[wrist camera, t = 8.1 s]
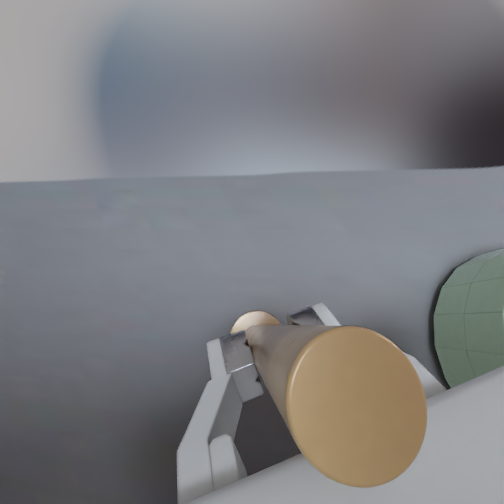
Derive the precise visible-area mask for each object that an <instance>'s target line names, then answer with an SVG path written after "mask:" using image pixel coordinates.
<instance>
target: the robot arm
mask: <svg viewBox="0 0 504 504" xmlns="http://www.w3.org/2000/svg"><path fill="white" fill-rule="evenodd" d="M287 322H288V324H289V325H327V326H342V325H341V324H340V323H339V322H338V321H337V319H336V318H335V317H334V316H333V314H332V313H331V312H330V311H329V309H328V308H327V307H326V306H325V305H324V304H323V303H319V304H316V305H313V306H310V307H307V308H304V309H302V310H299V311H296V312H293V313H290V314H288V315H287ZM206 347H207V354H208V360H209V366H210V373H211V379H212V380H210V381H208V382H207V384H206V387H205V389H204V391H203V393H202V396H201V398H200V400H199V403H198V405H197V407H196V409H195V412H194V414H193V416H192V418H191V421H190V423H189V425H188V427H187V430H186V432H185V434H184V437H183V439H182V441H181V443H180V446H179V448H178V450H177V496H178V504H504V366H501V367H499V368H497V369H494V370H492V371H490V372H488V373H485V374H483V375H481V376H478V377H476V378H474V379H471V380H469V381H467V382H464V383H462V384H460V385H458V386H455V387H453V388H451V389H448V390H447V389H446V388H445V387H444V386H443V385H442V384H441V383H440V382H439V381H438V380H437V379H436V378H435V377H434V376H433V375H432V374H431V373H430V372H429V371H428V370H427V369H426V368H425V367H424V366H423V365H422V364H421V363H420V362H419V361H418V360H417V359H416V358H415V357H413V356H411V355H409V354H406V353H404V352H403V353H404V354H405V355H406V356H407V358H408V359H409V360H410V362H411V363H412V365H413V366H414V368H415V370H416V372H417V374H418V376H419V378H420V380H421V383H422V386H423V389H424V393H425V397H426V405H427V426H426V432H425V437H424V440H423V443H422V446H421V449H420V451H419V452H418V454H417V456H416V458H415V459H414V461H413V462H412V464H411V465H410V466H409V467H408V468H407V469H406V470H405V472H404V473H402V474H401V475H400V476H398V477H397V478H396V479H394V480H392V481H390V482H388V483H386V484H383V485H380V486H376V487H370V488H358V487H351V486H346V485H343V484H340V483H337V482H335V481H333V480H331V479H329V478H327V477H326V476H324V475H323V474H322V473H320V472H319V471H318V470H317V469H315V468H314V467H313V466H312V465H311V464H310V463H309V462H308V460H307V459H306V458H305V457H304V456H303V454H302V453H300V454H298V455H296V456H293V457H291V458H289V459H287V460H284V461H282V462H280V463H277V464H275V465H273V466H270V467H268V468H266V469H263V470H261V471H259V472H257V473H254V474H252V475H250V476H248V475H247V471H246V468H245V466H244V464H243V462H242V460H241V457H240V455H239V453H238V451H237V448H236V446H235V444H234V438H235V434H236V430H237V426H238V421H239V417H240V413H241V409H242V405H243V404H242V403H243V402H245V401H248V400H250V399H253V398H255V397H257V396H260V395H262V394H264V393H263V389H262V385H261V382H260V379H259V374H258V371H257V368H256V366H255V363H254V359H253V355H252V352H251V349H250V347H249V344H248V340H247V337H246V334H245V331H244V330H242V331H239V332H236V333H233V334H230V335H227V336H223V337H220V338H218V339H215V340H212V341H209V342H207V343H206Z"/></svg>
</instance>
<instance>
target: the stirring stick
mask: <svg viewBox="0 0 504 504" xmlns="http://www.w3.org/2000/svg"><path fill="white" fill-rule="evenodd" d="M242 330H244V331H245V334H246V337H247V340H248V344H249V347H250V349H251V352H252V355H253V359H254V363H255V366H256V368H257V370H258V372H259V374H260V375H261V377H262V379H263V381H264V383H265V385H266V387H267V389H268V391H269V393H270V395H271V397H272V399H273V400H274V402H275V404H276V406H277V408H278V410H279V412H280V414H281V416H282V418H283V420H284V422H285V424H286V425H287V427H288V429H289V431H290V433H291V435H292V437H293V439H294V441H295V443H296V445H297V447H298V448H299V450H300V451H301V453H302V454H303V456H304V457H305V458H306V459H307V460H308V462H309V463H310V464H311V465H312V466H313V467H314V468H315V469H317V470H318V471H319V472H320V473H322V474H323V475H324V476H326V477H327V478H329V479H331V480H333V481H335V482H337V483H340V484H343V485H346V486H351V487H358V488H370V487H376V486H380V485H383V484H386V483H388V482H390V481H392V480H394V479H396V478H397V477H398V476H400V475H401V474H402V473H404V472H405V470H406V469H407V468H408V467H409V466H410V465H411V464H412V462H413V461H414V459H415V458H416V456H417V454H418V452H419V451H420V449H421V446H422V443H423V440H424V437H425V432H426V426H427V405H426V397H425V393H424V389H423V386H422V383H421V380H420V378H419V376H418V374H417V372H416V370H415V368H414V366H413V365H412V363H411V362H410V360H409V359H408V358H407V356H406V355H405V354H404V353H403V352H402V351H401V350H400V348H399V347H398V346H397V345H395V344H394V343H393V342H392V341H390V340H389V339H388V338H386V337H385V336H383V335H381V334H380V333H377V332H375V331H373V330H370V329H367V328H364V327H358V326H327V325H281V324H280V323H279V321H278V320H277V319H276V318H275V317H274V316H272V315H271V314H269V313H267V312H264V311H251V312H248V313H245V314H244V315H242V316H241V317H240V318H238V319H237V321H236V322H235V323H234V325H233V327H232V329H231V332H230V334H233V333H236V332H239V331H242Z"/></svg>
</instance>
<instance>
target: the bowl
mask: <svg viewBox="0 0 504 504" xmlns="http://www.w3.org/2000/svg"><path fill="white" fill-rule="evenodd" d="M434 338H435V349H436V352H437V355H438V358H439V361H440V364H441V367H442V370H443V373H444V376H445V379H446V380H447V383H448V384H449V386H450V387H451V388H453V387H455V386H458V385H460V384H462V383H464V382H467V381H469V380H471V379H474V378H476V377H478V376H481V375H483V374H485V373H488V372H490V371H492V370H494V369H497V368H499V367H501V366H504V248H502V249H498V250H494V251H491V252H487V253H484V254H480V255H477V256H476V257H474V258H472V259H471V260H469V261H467V262H466V263H464V264H462V265H460V266H459V267H457V268H456V269H455V271H454V272H453V273H452V275H451V276H450V277H449V279H448V280H447V281H446V283H445V284H444V285H443V286H442V289H441V292H440V295H439V299H438V302H437V306H436V309H435V313H434Z"/></svg>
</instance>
